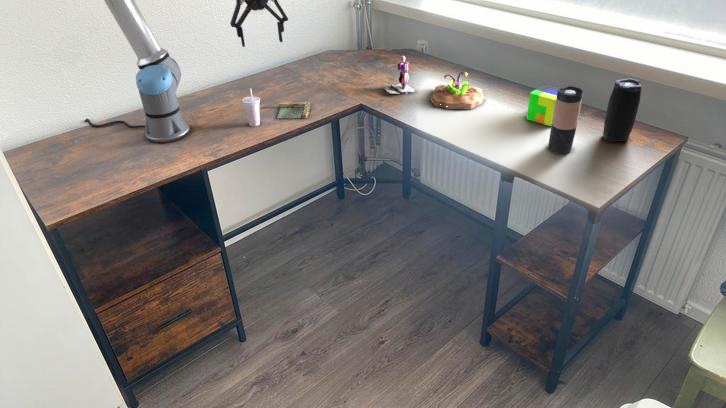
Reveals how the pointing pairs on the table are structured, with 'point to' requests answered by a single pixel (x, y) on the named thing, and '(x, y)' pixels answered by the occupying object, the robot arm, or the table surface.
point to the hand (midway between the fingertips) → (262, 43)
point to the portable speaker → (622, 110)
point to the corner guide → (293, 110)
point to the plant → (457, 94)
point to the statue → (401, 80)
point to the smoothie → (252, 109)
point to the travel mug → (565, 119)
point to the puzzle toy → (542, 104)
